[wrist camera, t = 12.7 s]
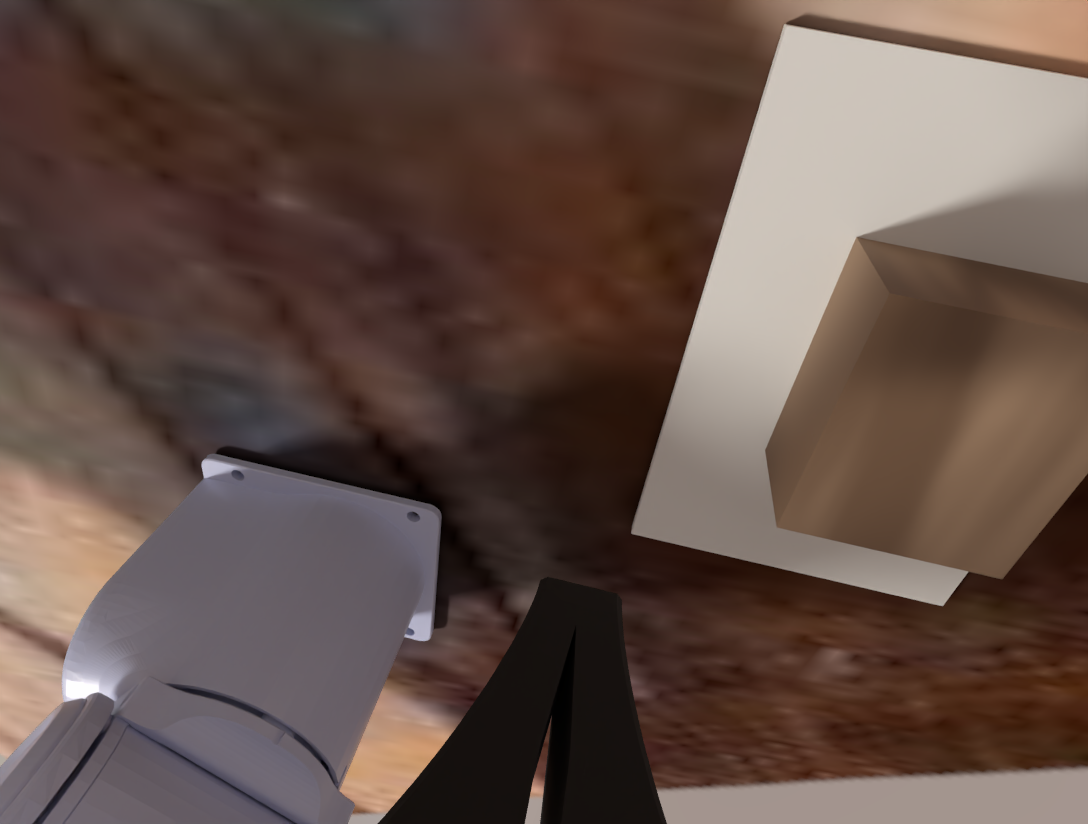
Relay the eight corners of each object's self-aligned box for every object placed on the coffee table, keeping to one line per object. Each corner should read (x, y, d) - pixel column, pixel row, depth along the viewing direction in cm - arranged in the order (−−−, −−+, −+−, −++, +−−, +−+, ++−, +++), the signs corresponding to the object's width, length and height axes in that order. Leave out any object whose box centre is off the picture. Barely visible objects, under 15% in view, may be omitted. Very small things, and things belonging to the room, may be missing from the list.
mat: (631, 526, 24) (630, 533, 24) (784, 23, 15) (786, 25, 15) (939, 597, 24) (942, 605, 23) (1296, 115, 14) (1310, 118, 14)
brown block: (776, 527, 18) (1002, 579, 18) (889, 293, 14) (1184, 353, 14) (764, 450, 21) (959, 493, 21) (856, 237, 17) (1099, 285, 17)
